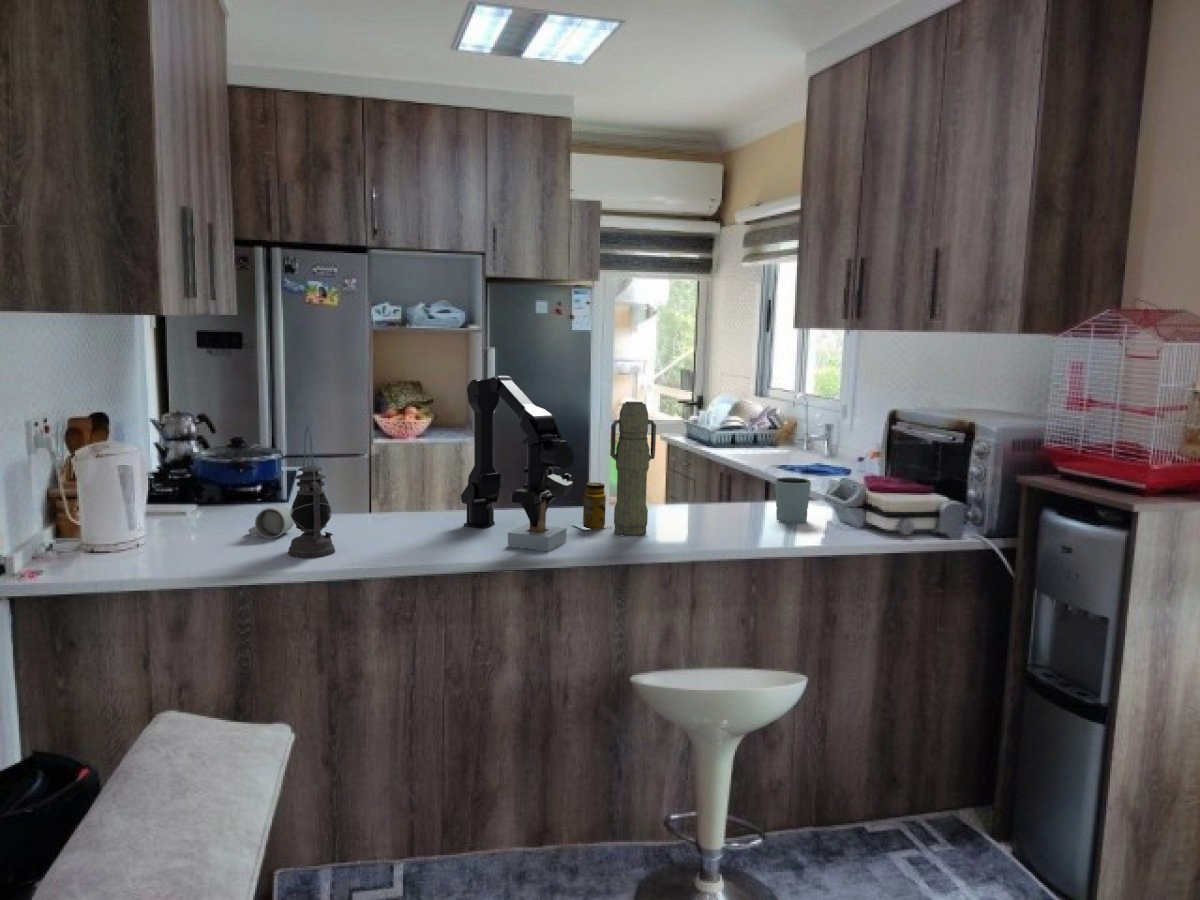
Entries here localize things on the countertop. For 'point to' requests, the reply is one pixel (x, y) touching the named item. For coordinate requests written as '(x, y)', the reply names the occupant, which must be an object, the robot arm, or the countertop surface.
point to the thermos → (632, 468)
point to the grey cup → (792, 499)
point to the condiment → (594, 506)
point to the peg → (540, 520)
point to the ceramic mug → (273, 522)
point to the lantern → (311, 513)
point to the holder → (537, 538)
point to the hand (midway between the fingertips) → (537, 525)
